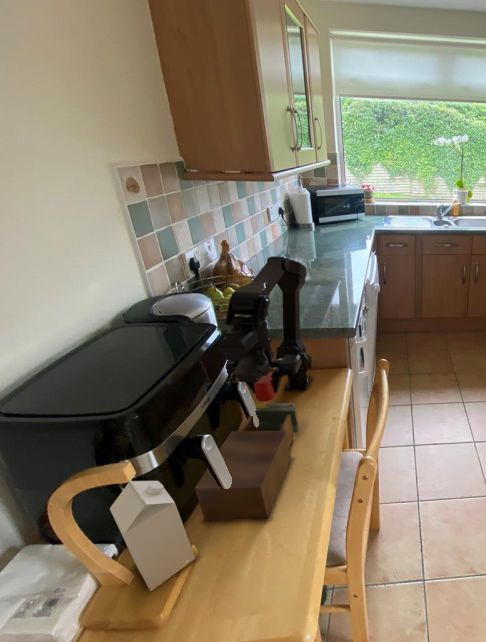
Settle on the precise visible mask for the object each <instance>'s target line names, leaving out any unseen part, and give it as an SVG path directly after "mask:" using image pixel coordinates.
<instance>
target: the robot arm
mask: <svg viewBox="0 0 486 642" xmlns="http://www.w3.org/2000/svg"><path fill="white" fill-rule="evenodd" d="M307 271H308V269H307V267H306V265H304V264H303V263H302V262H301V261H296V260H293V259H291V258H289V257H287V256H276V255H275V256H273V255H271V256H268V257H267V260H266V263H265V264H264V265H263V267H261V269H260V270H259V272H258V273H257V274H256V275H255V276H254V278H253V279H252V281H250V282H249V283H246V284H244V285H240V286H239V287H238V288H236V289H235V290H234V291H233V292H232V294H231V295H230V297H229V300H228V304H227V305H228V306H227V310H226V311H227V312H226V317H225V324H224V325H225V326H232V328H230V329H228V330H227V331H226V332H225V333H224V338H223V339H222V340H221V341H220V343H219V346H218V351H219V353H220V355H221V356H222V357H223V359H224V358H226V359H227V360H228V361H227V364H226V369H227V373H228V375H227V376H232V377H233V378H237V379H238V381H239V383H243V384H244V383H245V384H246V385H247V387H249V389H250V390H251V392H252V393H253V394H255V389H254V384H253V383H255V382H258V381H259V380H260V378H262V376H267V375H268V373H270V370H271V369H273V371H272V375H271V378H273V385H274V391H275V393H277V394H278V392H279V389H280V386H281V381H282V378H283V377H285V376H287V383H286V385H285V387H284V389H285V390H306V389H307V388H308V386H309V383H310V381H311V379H312V376H311V375H308V373H307V372H308V371H309V370H310V369H312V368H313V366H312V362H313V361H312V359H313V358H312V356H311V355H309V354H308V353H307V349H306V345H305V343H303V341H302V340H301V322H300V321H301V318H300V316H301V315H300V313H301V312H300V311H301V310H300V309H301V308H300V305H301V304H300V291H301V290H302V288H303V287H304V285H305V283H306V278H307V273H308V272H307ZM276 285H277V286H278V287H279V289H280V291H281V293H282V294H281V298H282V299H281V301H282V305H281V306H282V341H281V342H280V344H279V346H277V348H276V350H275V352H276V356H275V352H274V351H272V347H271V344H272V342H273V341H272V337H270V335H269V331H268V330H269V329H268V325H267V324H268V323H267V317H268V316H269V312H268V311H269V307H270V304H271V301H270V294H271V292H272V291H273V290H274V288H276ZM236 315H237V316H236ZM274 356H275V359H273V358H274ZM255 395H256V394H255Z"/></svg>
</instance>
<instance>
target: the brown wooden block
mask: <svg viewBox="0 0 486 642" xmlns="http://www.w3.org/2000/svg"><path fill="white" fill-rule="evenodd" d="M219 450H220V452H221V454H222V456H223V458H224V461H225V464H226V466H227V468H228V471H229V473H230V475H231V477H232V484H231V487H230V488H229V489H221V488H220V487H219V486H218V484H217V482H216V480H215V479H214V477H213V476H212V474H211V473H210V471H209V469H208V467H207V468H206V470H205V471H204V473H203V474H202V476H201V478H200V479H199V481H198V482H197V484H196V486H195V487H194V490H195V494H196V498H197V500H198V503H199V506H200V510H201V512H202V515H203V518H204V521H237V520H239V521H241V520H242V521H243V520H268V519H269V518H270V516H271V512H272V510H273V507H274V504H275V503H276V500H277V497H278V495H279V493H280V490H281V487H282V485H283V482H284V479H285V478H286V474H287V473H288V470H289V467H290V464H291V462H292V456H291V449H290V446H289V443H288V438H287V432H286V431H241V430H236V431H234V430H233V431H232V430H231V431H230V432H229V434H228V436H227V437H226V439H225V440H224V442H223V444H222V445H221V446H220V448H219Z"/></svg>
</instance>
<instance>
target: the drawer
mask: <svg viewBox="0 0 486 642" xmlns="http://www.w3.org/2000/svg"><path fill="white" fill-rule="evenodd" d="M255 408H256V411H255V412H256V415H257V417H258V419H259V426H258V427H257V428H256V427H254V426H253V425H252V423H253V416H251V417H249V416H248V418H247V419H246V421H245V422H244V424H243V426H242V428H241V429H240V431H286V432H287V438H288V443H289V447H290V446H291V444H292V441H293V439H294V436H295V434H298V433H299V432H300V429H301V428H300V424H299V416H298V410H297V407H295V403H294V402H293V403H286V402H285V403H267V404H266V407H255Z"/></svg>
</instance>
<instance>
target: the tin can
mask: <svg viewBox="0 0 486 642" xmlns="http://www.w3.org/2000/svg"><path fill="white" fill-rule="evenodd" d="M272 374H273V372H272V373H271V372H269V373H268V375H267V376H262V378H260V380H259V381H258V382H255V383H253V384H254V389H255V399H256V401H258V402H260V403H265V402H269V401H272V400H274V399H276V397H277V396H278V392H277V393H275V391H274V385H273V378H271V375H272Z"/></svg>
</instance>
